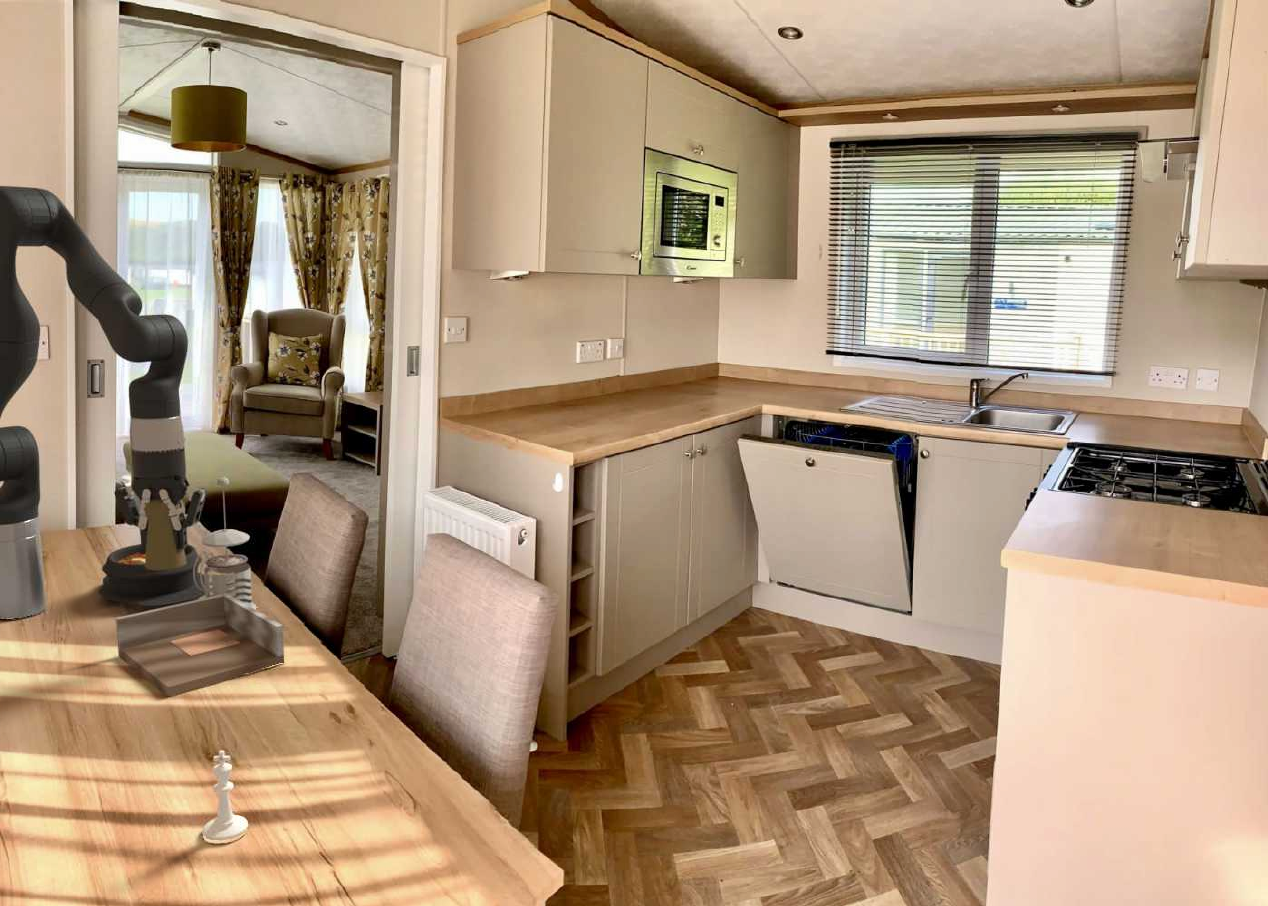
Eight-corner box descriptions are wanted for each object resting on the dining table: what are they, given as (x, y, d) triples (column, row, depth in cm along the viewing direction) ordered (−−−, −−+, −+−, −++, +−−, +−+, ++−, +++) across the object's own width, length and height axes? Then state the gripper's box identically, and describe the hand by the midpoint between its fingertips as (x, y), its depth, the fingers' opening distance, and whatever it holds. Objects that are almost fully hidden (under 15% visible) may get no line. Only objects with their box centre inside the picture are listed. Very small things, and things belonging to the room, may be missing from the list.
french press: (269, 607, 182) (264, 475, 177) (219, 627, 171) (212, 488, 167) (230, 598, 186) (224, 469, 181) (179, 617, 175) (171, 481, 171)
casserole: (232, 601, 184) (230, 558, 183) (127, 625, 171) (124, 579, 170) (178, 569, 201) (176, 529, 200) (79, 588, 188) (75, 546, 187)
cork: (189, 566, 155) (185, 499, 153) (147, 572, 152) (142, 503, 150) (183, 556, 160) (179, 491, 158) (142, 562, 157) (137, 495, 155)
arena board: (118, 656, 158) (115, 618, 157) (228, 628, 171) (227, 593, 170) (168, 696, 145) (166, 655, 143) (284, 663, 158) (282, 625, 156)
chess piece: (210, 820, 114) (206, 741, 112) (254, 819, 115) (250, 740, 113) (195, 845, 109) (190, 762, 108) (241, 844, 110) (237, 762, 108)
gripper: (98, 448, 149) (107, 557, 152) (193, 450, 149) (200, 559, 152) (123, 439, 156) (131, 543, 159) (213, 441, 156) (219, 545, 159)
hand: (165, 550), depth 156 cm, fingers closed on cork, 4 cm apart
